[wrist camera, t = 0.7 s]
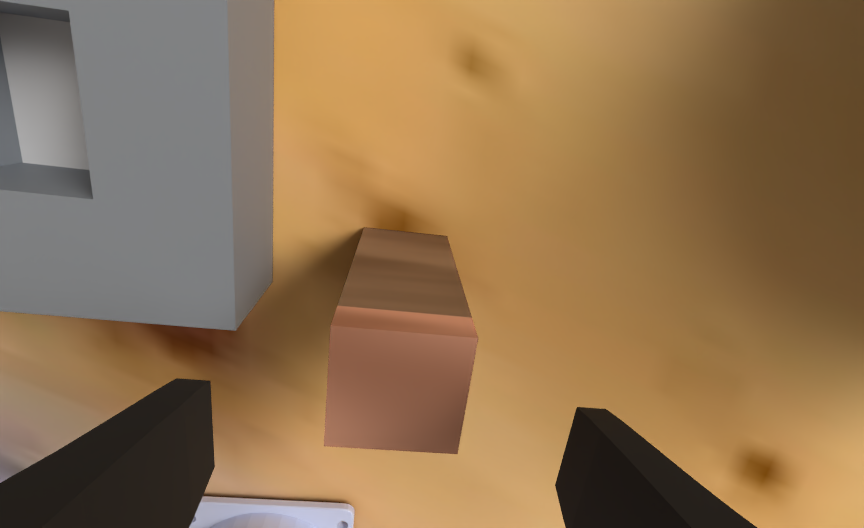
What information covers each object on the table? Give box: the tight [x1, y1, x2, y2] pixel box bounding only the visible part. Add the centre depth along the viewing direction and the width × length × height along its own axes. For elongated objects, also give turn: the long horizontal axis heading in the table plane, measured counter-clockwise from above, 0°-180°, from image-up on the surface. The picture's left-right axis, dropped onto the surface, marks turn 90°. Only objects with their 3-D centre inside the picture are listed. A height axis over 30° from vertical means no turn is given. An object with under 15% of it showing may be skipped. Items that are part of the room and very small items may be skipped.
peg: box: [324, 227, 478, 454], centre depth 14 cm, size 3×3×8 cm
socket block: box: [0, 0, 274, 331], centre depth 13 cm, size 12×12×4 cm
